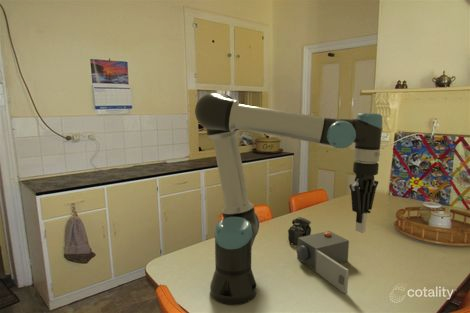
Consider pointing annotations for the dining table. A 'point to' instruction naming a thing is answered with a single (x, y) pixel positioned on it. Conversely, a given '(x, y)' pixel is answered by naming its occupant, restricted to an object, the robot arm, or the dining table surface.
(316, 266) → the door
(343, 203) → the dining table surface
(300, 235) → the camera
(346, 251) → the case
